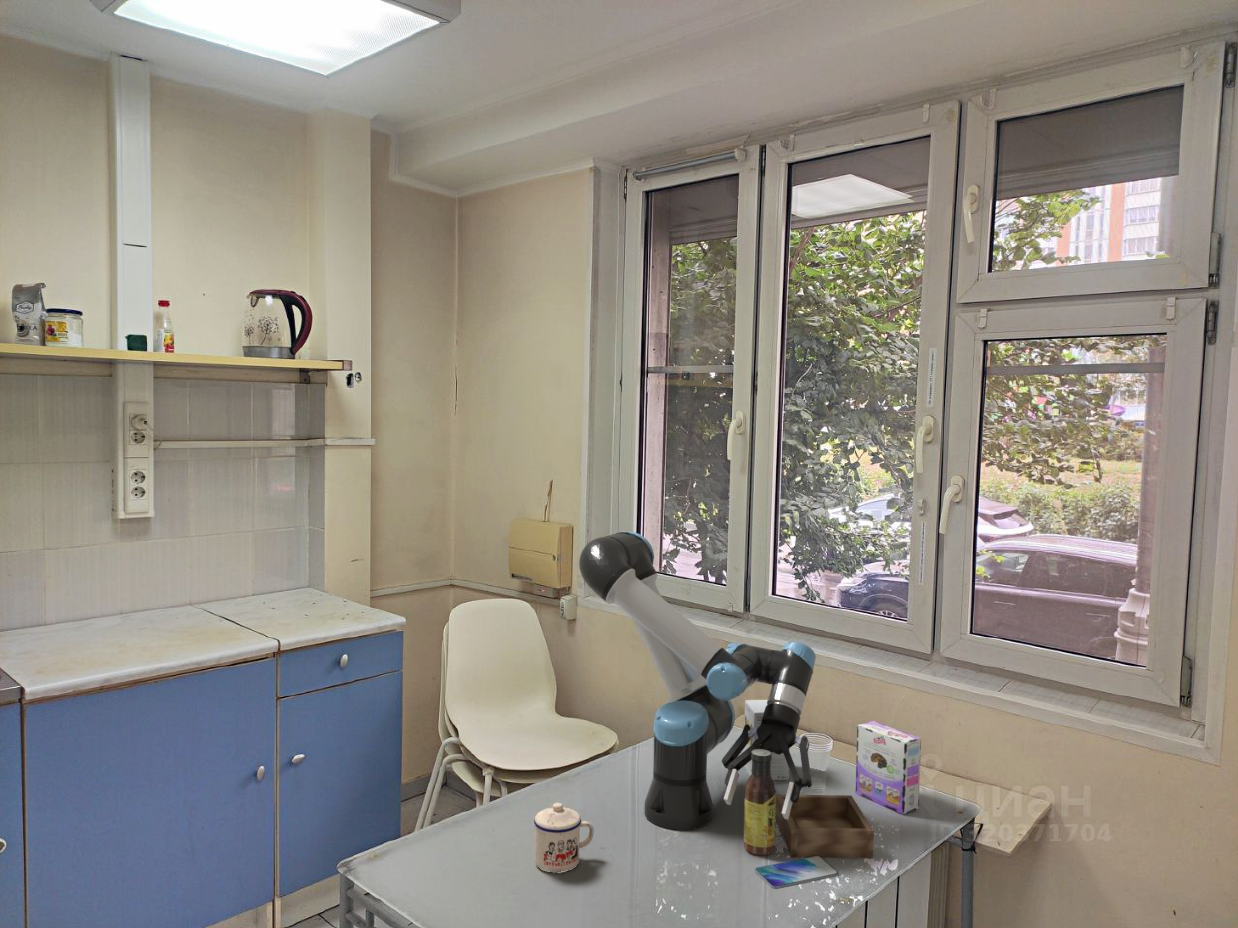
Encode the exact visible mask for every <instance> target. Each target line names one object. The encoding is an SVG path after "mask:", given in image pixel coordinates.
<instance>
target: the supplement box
mask: <svg viewBox="0 0 1238 928" xmlns="http://www.w3.org/2000/svg"><path fill="white" fill-rule="evenodd" d="M767 700H768V699H748V700H747V699H746V700H744V701H745V702H744V721H743V722H744V723H743V725H744V726H745V725H746V724H748V725H749V726H750V727H752V728H758V727H759V726H760V725H761V721H762V717H763V714H764V711H765V707H766V706H767ZM756 739H758V736H757V735H754V737H753V738H750V741H749V742H748V744H747V745H746V746H745V748H744V749H743V752H744V751H745V750H746V749H748V748H749V747H750V746H751V745H752V744H753V742H754V741H755V740H756ZM790 750H791V747H790V748H789V752H790ZM771 754H772V755H771V756H772V759H771V762H770V764H771V766H770V771H771V773H770V774H771V777H772V781H788V780H789V779H790V778H789V773H790V769H789V766H788V764H787V761H786V759H785V756H784V754H783V753H782V754H780V755H779V754H775V753H774V752H771ZM743 768H744V770H745V771H746V773H747V775H748V776H749V777H750V776H751V774H752V772H751V769H752V760H751V761H749V762H748V763H747V764H746V765H745V766H743Z"/></svg>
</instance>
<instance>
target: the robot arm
mask: <svg viewBox="0 0 1238 928" xmlns="http://www.w3.org/2000/svg"><path fill="white" fill-rule="evenodd" d="M579 556H580V557H579V559H578V560H579V561H578V566H579V571H580V575H581V577H582V579H583V580H584V581H585V583H586V584H587V586H588V587H589V588H590V589H591V590H592V591H593V592H594V593H595V594H596V595H597V596H598V597H599V598H601V599H602V601H604V602H605V603H607V604H609V605H612V604H615V605H616V606H617V607H619V608H620V609H621V610H622V611H623V612H625V614H627V615H628V616H629V617H630V618H631V619H632V620H633V623H634V625H635V627H636V629H637V631H638V633H639V635H640V637H641V639H642V641H643V644H644V645H645V646H646V649H647V650H648V653H649V655H650V657H651V659H652V661H653V663H654V665H655V667H656V669H657V671H658V673H659V675H660V677H661V679H662V681H663V683H664V685H665V686H666V689H667V691H668V697H667V700H666V703H665V704H663V705H661V706H660V707H659V708H658V709H657V711H656V712H655V715H654V722H653V727H652V728H653V762H652V763H653V767H652V768H653V769H652V770H653V771H652V780H651V784H650V786H649V789H648V792H647V794H646V797H645V800H644V810H643V811H644V812H643V813H644V816H645V818H646V819H647V820H648V821H649V822H651V823H652V824H654V825H656V826H659V827H662V828H665V829H671V830H693V829H699V828H703V827H704V826H707V825H708V824H710V823H711V822H712V821H713V819H714V817H715V816H714V815H715V811H714V810H715V807H714V803H713V798H712V795H711V794H712V793H711V791H710V788H709V785H708V782H707V781H708V780H707V771H708V770H707V767H708V766H707V765H708V754H709V753H710V752H712V751H713V750H714V749H715V748H716V747H717V746H718V745H719V744H721V743H723V742H724V741H725V740H726V739H727V738H728V736H729V734H730V733H731V731H732V730H733V728H734V725H735V721H736V712H735V707H734V703H732V700H733V699H735V698H737V697H739V696H741V695H742V694H744V693H745V692H746V690H747V689H748V688H749V687H751V686H752V685H753V684H754V683H756V682H758V683H763V684H767V685H771V689H770V691H769V694H768V698H767V699H766V700H767V706H766V707H765V711H764V714H763V717H762V721H761V725H760V726H759V727H758V728H752V727H750V726H749V725H748V724H746V725H745V726H744V727H743V729H742V732H741V734H740V735H739V736H738V738H737V739H736V740H735V742H734V743H733V744H732V745H731V747H730V748H729V749H728V751H727V752H726V753H725V754H724V756H723V758H722V759H721V763H722V765H723V766H724V768H725V769H727V773H726V776H725V778H724V784H725V786H726V787H727V788H726V790H725V793H724V797H723V800H724V802H725V804H726V805H728V806H731V805H732V802H733V798H734V796H735V792H736V789H737V785H738V783H739V782H738V781H739V779H740V774H739V771H740V770H741V769H742V768H744V766H745V765H746V764H747V763H748V762H749V761H751V760H752V759H751V752H752V751H753V750H755V749H765V750H768V751H770V752H774V753H775V754H779V755H780V754H782V753H783V754H784V756H785V759H786V761H787V764H788V766H789V773H790V774H791V776H792V778H793V781H789V784H788V786H787V790H786V794H785V795H786V798H785V802H784V805H783V809H782V815H783V817H784V819H787V820H788V818H789V814H790V810H791V807H792V803H793V802H794V803H797V802H798V799H799V795H801V790H802V789H803V788H806V787H807V788H811V787H812V786H813V781H812V774H811V768H810V761H809V760H810V759H809V758H810V757H809V749H810V741H809V739H808V736H806V735H802V736H801V737H799V736H797V732H798V728H799V723H800V721H801V717H800V716H801V715H802V714H803V713H802V712H803V709H804V704H805V701H806V699H807V698H806V697H807V693H808V690H809V687H810V685H811V684H810V682H811V681H812V676H813V674H814V668H815V663H816V657H817V655H816V653H815V651H814V650H813V649H812V647H810V646H808V645H807V644H805V643H802V642H799V641H789V642H786V643H784V645H783V647H782V648H781V650H778V649H776V650H775V649H770V648H765V647H760V646H756V645H755V646H754V645H750V644H747V643H738V642H737V643H735V642H732V643H729V644H728V645H727V647H726V649H725V648H724V647H723V646H722V645H720V644H719V643H718V642H717V641H715V640H714V639H713V638H712V637H710V636H709V635H708V634H707V633H705V632H704V631H703V630H701V628H700V627H698V626H697V625H696V624H694V623H693V622H692V621H691V620H690V619H688V618H687V617H686V616H685V615H684V614H682V613H681V612H680V611H678V610H677V609H676V608H675V607H673V605H671V604H670V603H669V602H667V601H666V600H665V599H664V598H663V596H662V594H661V592H660V591H659V589H658V587H657V584H656V582H657V578H658V572H657V571H656V569H655V567H654V560H655V552H654V548H653V546H652V544H651V543H650V541H649V540H648V539H647V538H645V536H643V535H641V534H640V533H637V532H635V531H618V532H616V533H612V534H610V535H605V536H600V537H597V538H594V539H592V540H591V541H590V542H588V543H587V544H586V545H584V547H583V549H582V551H581V552H580V555H579ZM754 735H757V736H758V739H756V740H755V741H754V742H753V744H752V745H751V746H750V747H749V748H748V749H746V750H745V751H744V748H745V746H746V745H747V744H748V742H749V741H750V738H753V737H754ZM795 744H796V745H797V747H798V749H799V753H800V762H801V768H802V777H800V775H799V772H798V770H797V767H796V765H795V763H794V759H793V757H792V755H791V753H790V751H789V748H790V749H791V748H792V747H793V746H794V745H795ZM742 751H743V752H742Z"/></svg>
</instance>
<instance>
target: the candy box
mask: <svg viewBox="0 0 1238 928" xmlns="http://www.w3.org/2000/svg"><path fill="white" fill-rule="evenodd" d="M921 749H922V738H921V737H919V736H915V735H913V734H910V733H907V732H904V731H901V730H898V729H896V728H893V727H890V726H888V725H885V724H883V723H880V722H877V721H874V720H872V721H868V722H864V723H860V724H857V725H856V753H855V754H856V759H855V760H856V761H855V762H856V764H855V768H856V770H855V791H854V792H855V794H856V795H859V796H861V797H863V798H865V797H866V798H865V799H867V800H869V799H870V801H872V802H874V803H877V804H878V805H881V806H883V807H885V808H887V809H889V810H892V811H894V812H897V813H899V814H901V815H905V814H908V813H911V812H914V811H917V810H919V806H920V805H919V803H920V779H921V777H920V776H921V774H920V773H921V752H922V751H921Z"/></svg>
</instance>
